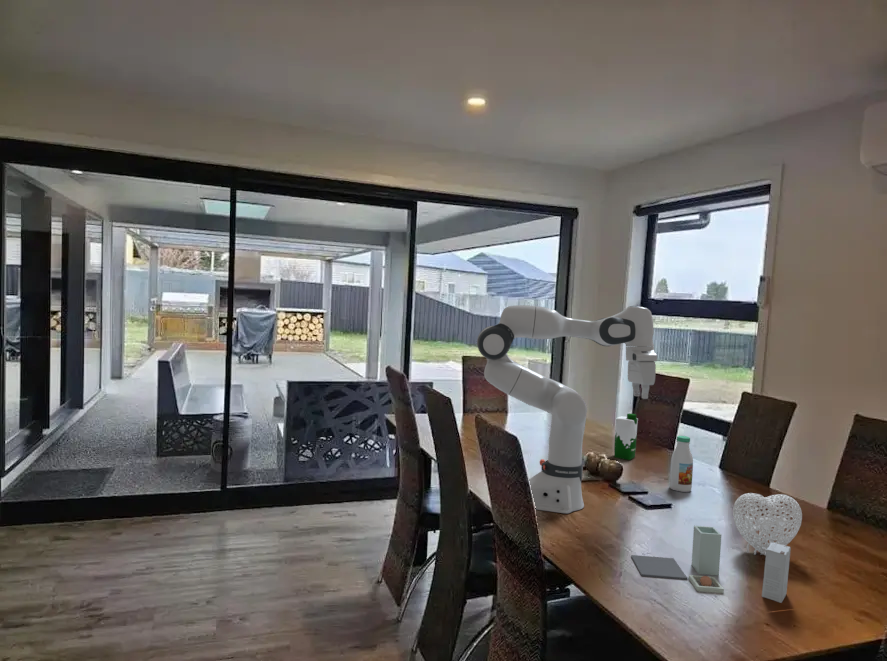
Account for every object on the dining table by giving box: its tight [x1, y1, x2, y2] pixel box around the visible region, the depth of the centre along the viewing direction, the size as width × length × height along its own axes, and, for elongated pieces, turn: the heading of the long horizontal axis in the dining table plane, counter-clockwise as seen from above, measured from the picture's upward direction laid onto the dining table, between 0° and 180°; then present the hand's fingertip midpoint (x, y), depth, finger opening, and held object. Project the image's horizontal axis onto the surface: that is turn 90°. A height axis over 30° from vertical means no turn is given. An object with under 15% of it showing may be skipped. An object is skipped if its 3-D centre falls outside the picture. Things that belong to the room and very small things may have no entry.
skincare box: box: [761, 542, 792, 604], centre depth 134 cm, size 6×4×12 cm
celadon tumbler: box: [691, 525, 722, 576], centre depth 146 cm, size 5×5×11 cm
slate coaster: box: [630, 554, 688, 581], centre depth 146 cm, size 11×11×1 cm
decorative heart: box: [732, 492, 803, 557], centre depth 158 cm, size 18×11×17 cm, turn 89°
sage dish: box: [688, 574, 725, 594], centre depth 138 cm, size 6×6×2 cm
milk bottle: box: [669, 435, 694, 493], centre depth 214 cm, size 8×8×20 cm
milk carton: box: [613, 413, 639, 461], centre depth 258 cm, size 9×9×20 cm
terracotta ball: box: [699, 575, 713, 587], centre depth 138 cm, size 3×3×3 cm
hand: (640, 397), depth 187 cm, fingers open, 8 cm apart
